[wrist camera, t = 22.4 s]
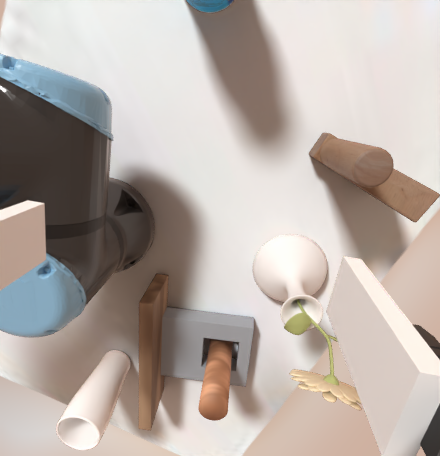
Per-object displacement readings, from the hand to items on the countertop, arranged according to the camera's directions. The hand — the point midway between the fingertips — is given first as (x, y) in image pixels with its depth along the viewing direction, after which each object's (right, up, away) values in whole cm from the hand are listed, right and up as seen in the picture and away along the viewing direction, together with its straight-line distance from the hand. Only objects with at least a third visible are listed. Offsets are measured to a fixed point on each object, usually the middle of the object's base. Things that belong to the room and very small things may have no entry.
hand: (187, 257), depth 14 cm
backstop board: (-9, -18, +44) cm, 48 cm away
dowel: (+2, -19, +43) cm, 47 cm away
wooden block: (+19, +11, +32) cm, 39 cm away
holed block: (-1, -19, +43) cm, 47 cm away
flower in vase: (+13, -5, +38) cm, 40 cm away
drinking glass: (-18, -23, +47) cm, 55 cm away
